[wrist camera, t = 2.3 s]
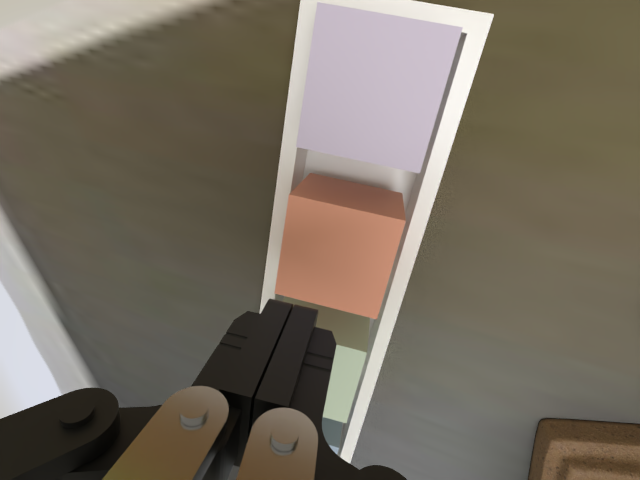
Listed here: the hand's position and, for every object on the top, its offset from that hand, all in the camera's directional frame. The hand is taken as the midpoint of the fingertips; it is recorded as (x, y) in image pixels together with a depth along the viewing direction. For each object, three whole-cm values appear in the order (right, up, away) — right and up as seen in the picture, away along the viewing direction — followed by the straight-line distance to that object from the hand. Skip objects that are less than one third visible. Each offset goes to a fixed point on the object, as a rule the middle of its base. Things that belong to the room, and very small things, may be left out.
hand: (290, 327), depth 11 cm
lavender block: (+4, +10, +6) cm, 12 cm away
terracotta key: (+2, +3, +9) cm, 10 cm away
